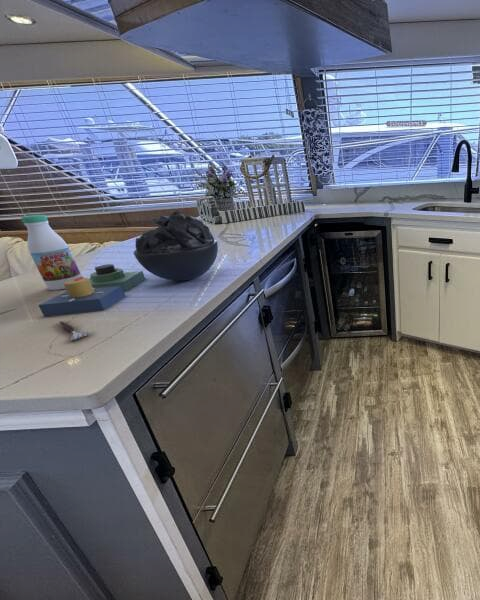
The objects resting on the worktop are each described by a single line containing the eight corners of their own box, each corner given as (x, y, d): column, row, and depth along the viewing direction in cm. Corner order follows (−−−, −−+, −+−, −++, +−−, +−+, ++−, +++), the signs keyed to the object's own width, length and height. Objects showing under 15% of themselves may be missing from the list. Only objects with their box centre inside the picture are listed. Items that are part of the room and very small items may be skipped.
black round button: (94, 276, 87) (91, 269, 86) (103, 272, 90) (100, 265, 89) (110, 274, 87) (107, 267, 86) (119, 270, 91) (116, 263, 90)
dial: (86, 296, 75) (79, 281, 74) (65, 298, 75) (57, 283, 73) (98, 290, 79) (92, 275, 78) (78, 292, 79) (71, 277, 77)
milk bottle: (41, 289, 91) (4, 218, 83) (73, 280, 98) (42, 213, 90) (59, 291, 89) (22, 218, 81) (91, 282, 95) (60, 213, 88)
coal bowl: (192, 292, 84) (169, 219, 77) (127, 290, 87) (99, 220, 80) (239, 268, 102) (224, 208, 95) (183, 268, 105) (165, 209, 98)
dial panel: (44, 316, 73) (37, 304, 72) (72, 301, 81) (66, 290, 80) (104, 310, 75) (98, 298, 74) (125, 296, 83) (121, 284, 82)
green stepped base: (75, 296, 85) (68, 280, 83) (100, 283, 94) (93, 269, 92) (127, 291, 87) (120, 275, 85) (145, 279, 96) (140, 264, 94)
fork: (69, 321, 70) (65, 313, 70) (93, 339, 62) (89, 330, 61) (53, 326, 68) (48, 317, 68) (76, 345, 60) (71, 336, 59)
